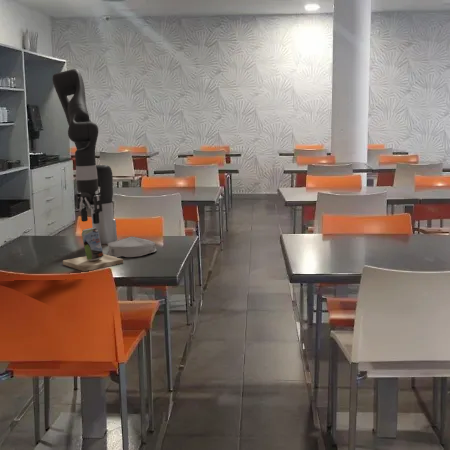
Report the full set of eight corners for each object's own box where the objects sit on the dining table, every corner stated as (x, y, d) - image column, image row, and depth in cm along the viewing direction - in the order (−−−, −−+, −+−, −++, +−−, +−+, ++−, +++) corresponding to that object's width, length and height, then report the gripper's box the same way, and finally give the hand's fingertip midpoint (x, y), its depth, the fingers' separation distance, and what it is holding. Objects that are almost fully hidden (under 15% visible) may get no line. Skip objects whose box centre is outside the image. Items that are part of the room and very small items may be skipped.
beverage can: (99, 262, 229) (97, 229, 227) (80, 262, 230) (78, 229, 228) (106, 258, 235) (103, 226, 233) (87, 258, 236) (85, 226, 234)
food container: (96, 255, 251) (95, 238, 249) (135, 245, 265) (134, 229, 264) (128, 262, 237) (126, 244, 236) (167, 251, 251) (166, 234, 250)
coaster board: (101, 256, 244) (100, 253, 244) (123, 263, 232) (123, 259, 232) (63, 264, 234) (62, 260, 234) (84, 271, 222) (83, 267, 222)
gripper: (106, 178, 225) (109, 223, 228) (86, 176, 236) (89, 219, 238) (87, 180, 220) (91, 226, 223) (68, 178, 231) (71, 221, 234)
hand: (90, 222), depth 231 cm, fingers open, 8 cm apart
